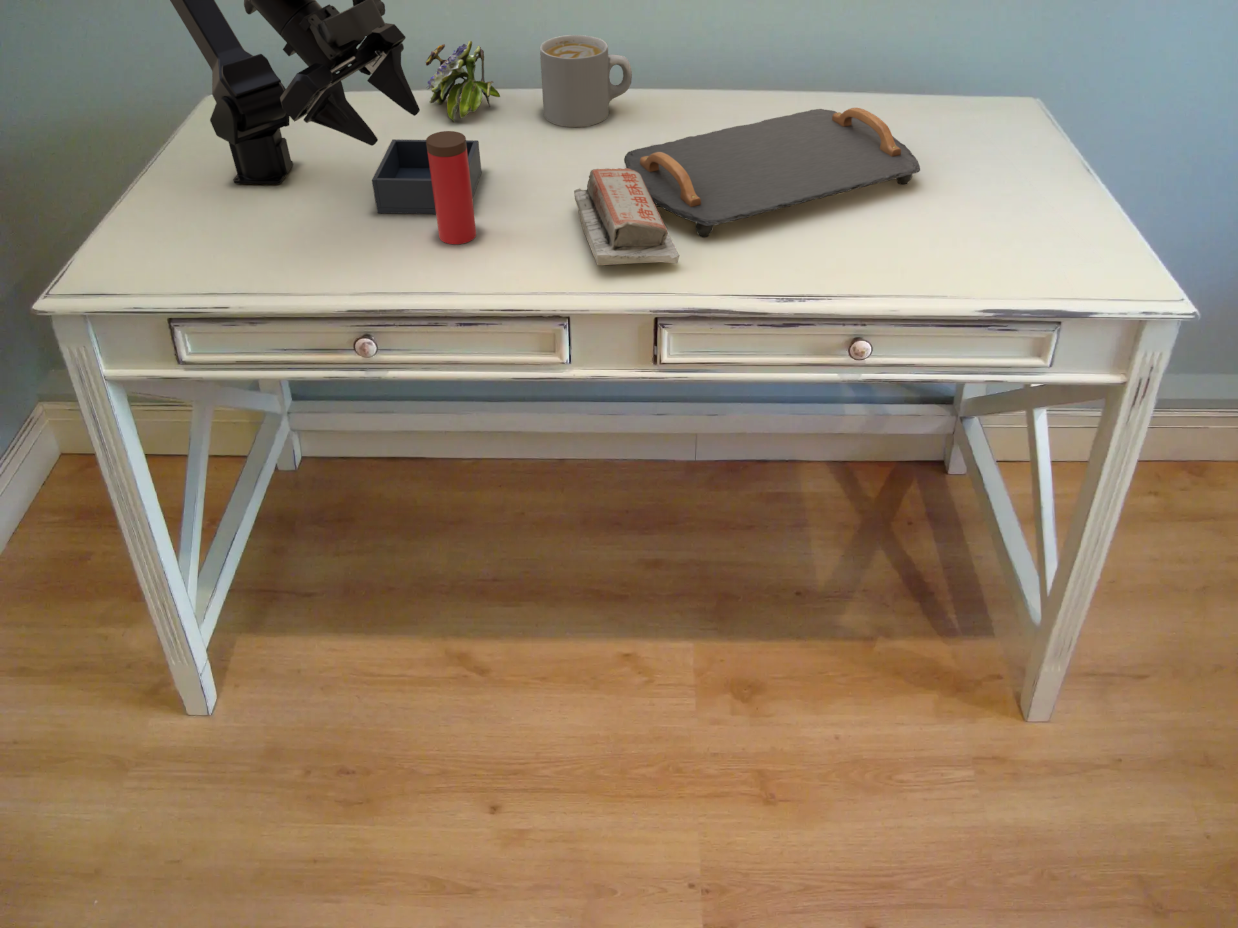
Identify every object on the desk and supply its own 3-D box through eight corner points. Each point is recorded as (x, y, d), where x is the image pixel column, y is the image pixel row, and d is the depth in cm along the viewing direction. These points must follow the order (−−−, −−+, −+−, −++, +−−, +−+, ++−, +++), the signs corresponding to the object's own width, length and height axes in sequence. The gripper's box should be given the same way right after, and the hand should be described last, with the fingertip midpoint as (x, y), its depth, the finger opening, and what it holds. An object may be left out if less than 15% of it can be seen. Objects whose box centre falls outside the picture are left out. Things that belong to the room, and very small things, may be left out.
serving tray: (686, 251, 124) (688, 204, 120) (602, 175, 139) (601, 131, 135) (938, 184, 137) (947, 139, 133) (836, 121, 152) (841, 80, 148)
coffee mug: (541, 127, 152) (537, 58, 145) (546, 100, 159) (542, 34, 152) (631, 127, 151) (631, 59, 145) (632, 101, 159) (632, 35, 152)
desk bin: (377, 213, 132) (371, 180, 129) (397, 171, 141) (392, 139, 138) (467, 214, 131) (463, 181, 128) (481, 172, 140) (478, 140, 137)
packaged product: (573, 164, 129) (650, 163, 130) (571, 200, 132) (647, 199, 134) (598, 229, 115) (683, 228, 117) (595, 268, 118) (679, 265, 120)
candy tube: (436, 244, 126) (422, 147, 117) (442, 226, 129) (429, 130, 121) (473, 245, 125) (462, 147, 117) (479, 226, 129) (468, 131, 121)
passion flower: (446, 137, 162) (435, 60, 161) (512, 126, 160) (501, 47, 159) (422, 122, 151) (410, 39, 150) (493, 110, 149) (481, 25, 148)
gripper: (278, -3, 105) (387, 117, 109) (378, -51, 118) (472, 59, 122) (236, 64, 112) (339, 175, 116) (334, 12, 125) (424, 114, 129)
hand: (397, 128), depth 121 cm, fingers open, 9 cm apart
